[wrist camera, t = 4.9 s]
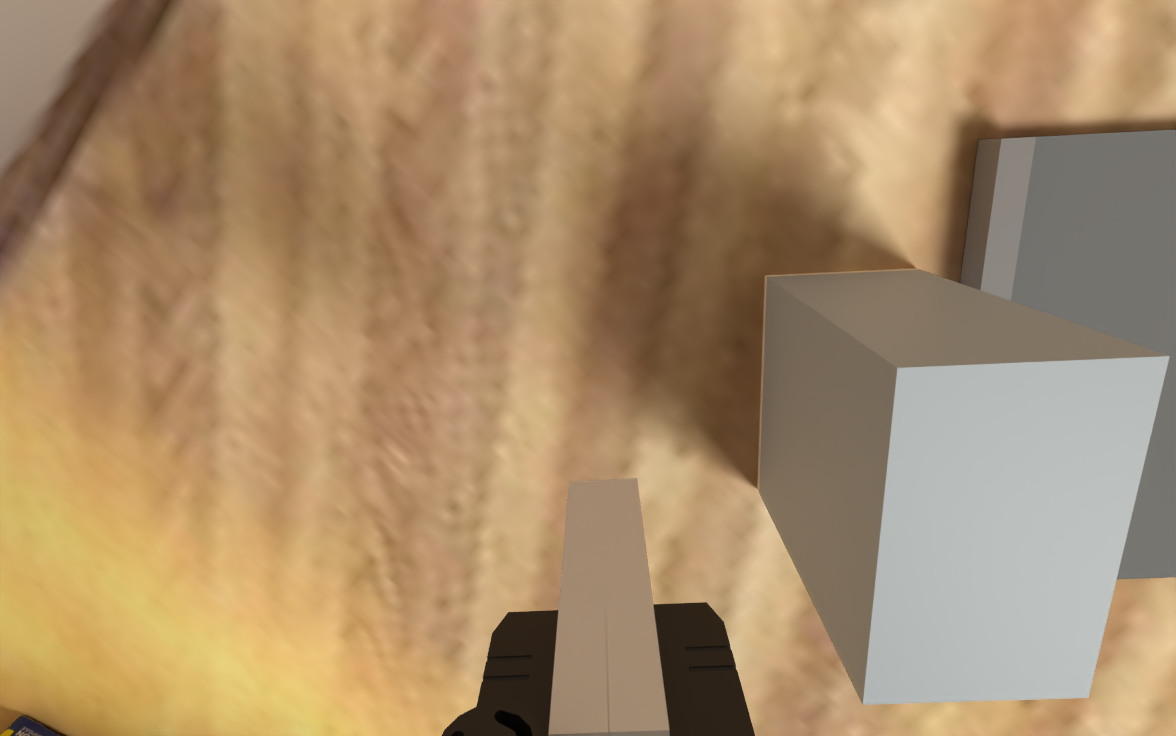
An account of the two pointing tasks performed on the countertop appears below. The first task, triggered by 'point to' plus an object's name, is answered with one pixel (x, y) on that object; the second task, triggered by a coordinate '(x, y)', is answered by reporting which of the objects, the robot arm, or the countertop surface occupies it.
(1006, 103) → the countertop surface
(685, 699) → the robot arm
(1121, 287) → the mat
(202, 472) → the countertop surface
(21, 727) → the supplement box
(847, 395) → the block
